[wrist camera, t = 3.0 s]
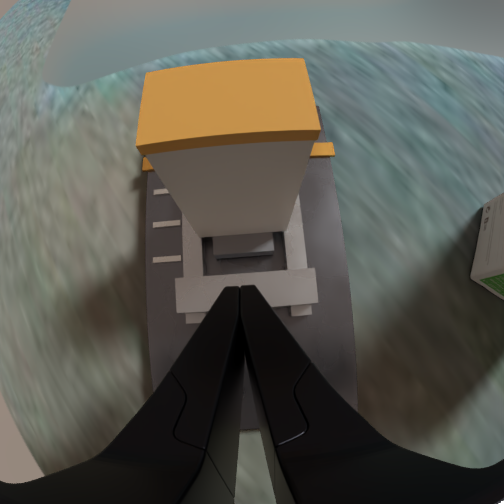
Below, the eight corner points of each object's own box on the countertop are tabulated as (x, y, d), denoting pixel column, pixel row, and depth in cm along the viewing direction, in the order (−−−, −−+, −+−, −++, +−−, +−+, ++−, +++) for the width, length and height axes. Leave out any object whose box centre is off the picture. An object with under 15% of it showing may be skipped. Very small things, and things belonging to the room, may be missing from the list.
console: (356, 409, 16) (378, 427, 13) (159, 423, 16) (138, 443, 13) (320, 116, 20) (329, 83, 17) (152, 129, 20) (137, 98, 17)
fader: (287, 253, 17) (327, 161, 7) (202, 259, 17) (132, 178, 7) (278, 177, 18) (298, 40, 8) (199, 183, 18) (149, 53, 8)
